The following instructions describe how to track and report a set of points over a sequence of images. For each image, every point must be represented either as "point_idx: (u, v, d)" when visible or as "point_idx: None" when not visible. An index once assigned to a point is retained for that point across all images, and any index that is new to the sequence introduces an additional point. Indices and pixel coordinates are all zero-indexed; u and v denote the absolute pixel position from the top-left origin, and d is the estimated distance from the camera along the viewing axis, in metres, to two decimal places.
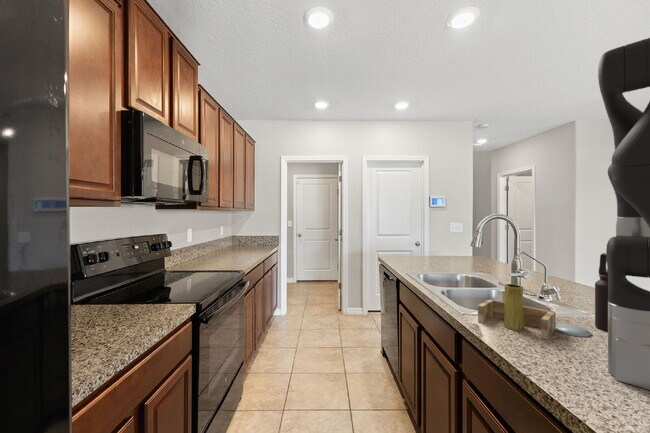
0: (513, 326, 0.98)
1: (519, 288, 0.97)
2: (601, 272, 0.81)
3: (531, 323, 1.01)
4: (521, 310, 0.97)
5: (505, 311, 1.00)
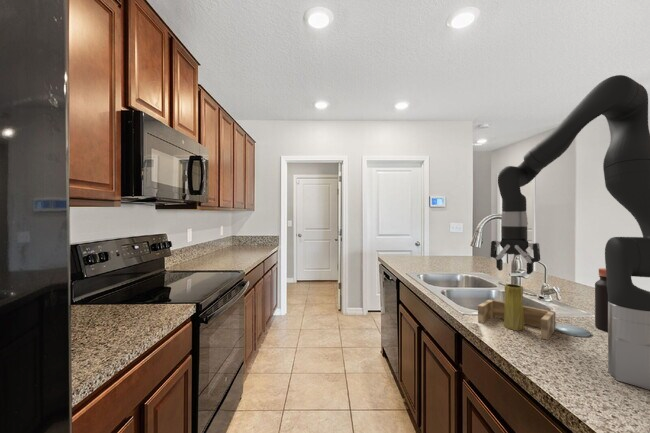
0: (513, 326, 0.98)
1: (519, 288, 0.97)
2: (491, 255, 1.04)
3: (531, 323, 1.01)
4: (521, 310, 0.97)
5: (505, 311, 1.00)
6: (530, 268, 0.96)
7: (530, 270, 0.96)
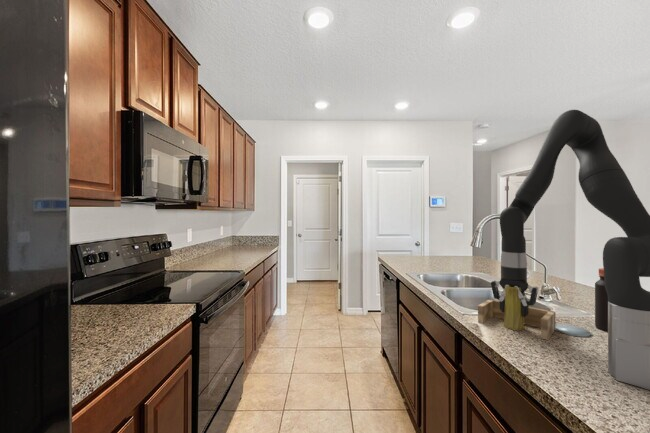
0: (513, 326, 0.98)
1: (519, 288, 0.97)
2: (495, 296, 1.03)
3: (531, 323, 1.01)
4: (521, 310, 0.97)
5: (505, 311, 1.00)
6: (525, 311, 0.97)
7: (525, 313, 0.97)
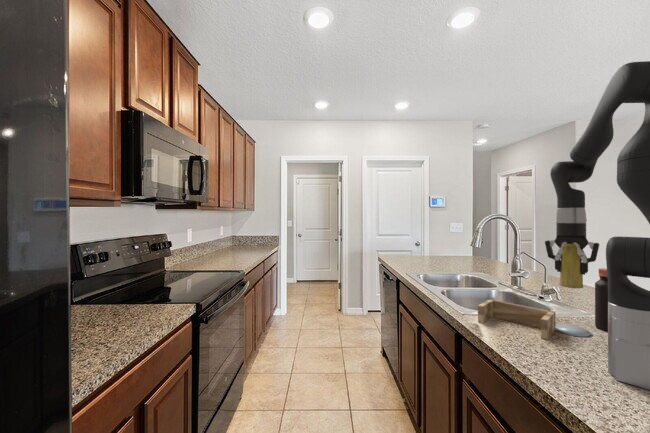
0: (572, 284, 0.94)
1: None
2: (549, 255, 0.99)
3: (531, 323, 1.01)
4: (580, 267, 0.94)
5: (562, 270, 0.96)
6: (585, 268, 0.93)
7: (585, 270, 0.93)
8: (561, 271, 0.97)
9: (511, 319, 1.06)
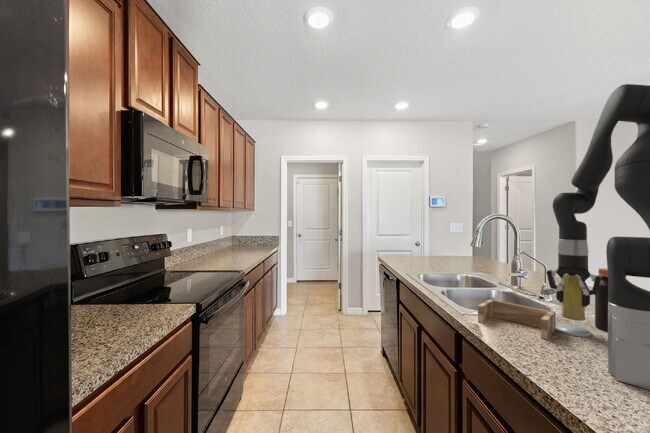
0: (574, 316, 0.94)
1: (580, 277, 0.94)
2: (551, 285, 0.99)
3: (531, 323, 1.01)
4: (582, 300, 0.94)
5: (564, 301, 0.96)
6: (587, 300, 0.93)
7: (587, 303, 0.93)
8: (563, 302, 0.97)
9: (511, 319, 1.06)
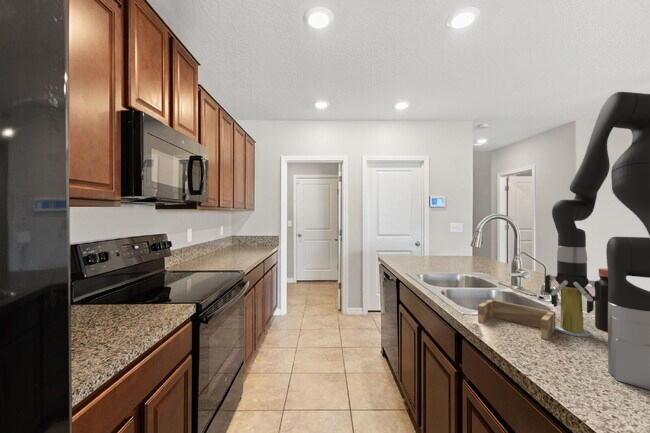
0: (573, 328, 0.94)
1: None
2: (546, 290, 1.00)
3: (531, 323, 1.01)
4: (581, 311, 0.94)
5: (562, 312, 0.97)
6: (591, 306, 0.92)
7: (591, 309, 0.92)
8: (562, 313, 0.97)
9: (511, 319, 1.06)
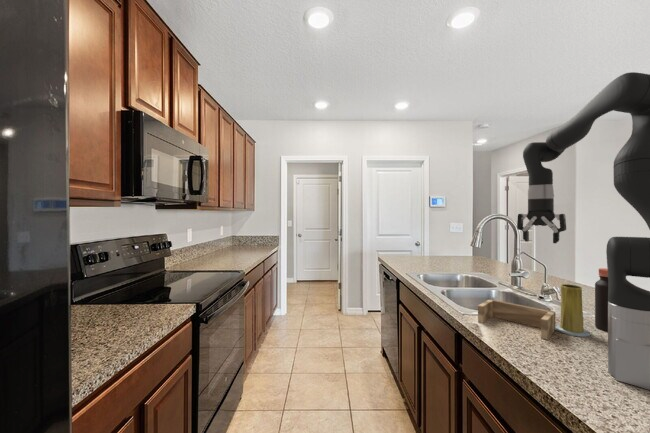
0: (573, 328, 0.94)
1: (579, 288, 0.94)
2: (518, 227, 1.10)
3: (531, 323, 1.01)
4: (581, 311, 0.94)
5: (562, 313, 0.96)
6: (556, 237, 1.02)
7: (556, 239, 1.02)
8: (562, 314, 0.97)
9: (511, 319, 1.06)
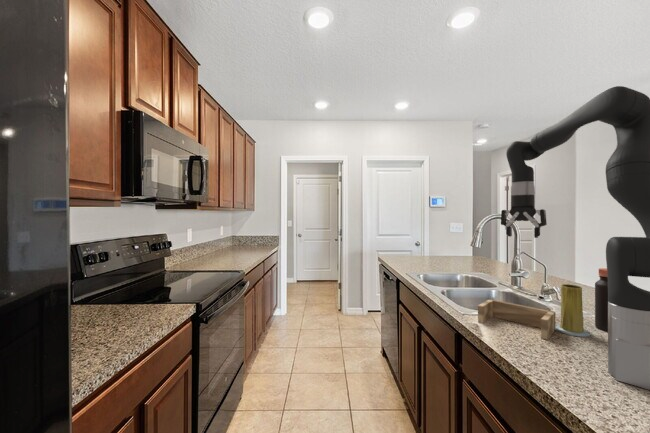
0: (573, 328, 0.94)
1: (579, 288, 0.94)
2: (502, 222, 1.15)
3: (531, 323, 1.01)
4: (581, 311, 0.94)
5: (563, 312, 0.96)
6: (537, 232, 1.06)
7: (537, 234, 1.06)
8: (562, 313, 0.97)
9: (511, 319, 1.06)
